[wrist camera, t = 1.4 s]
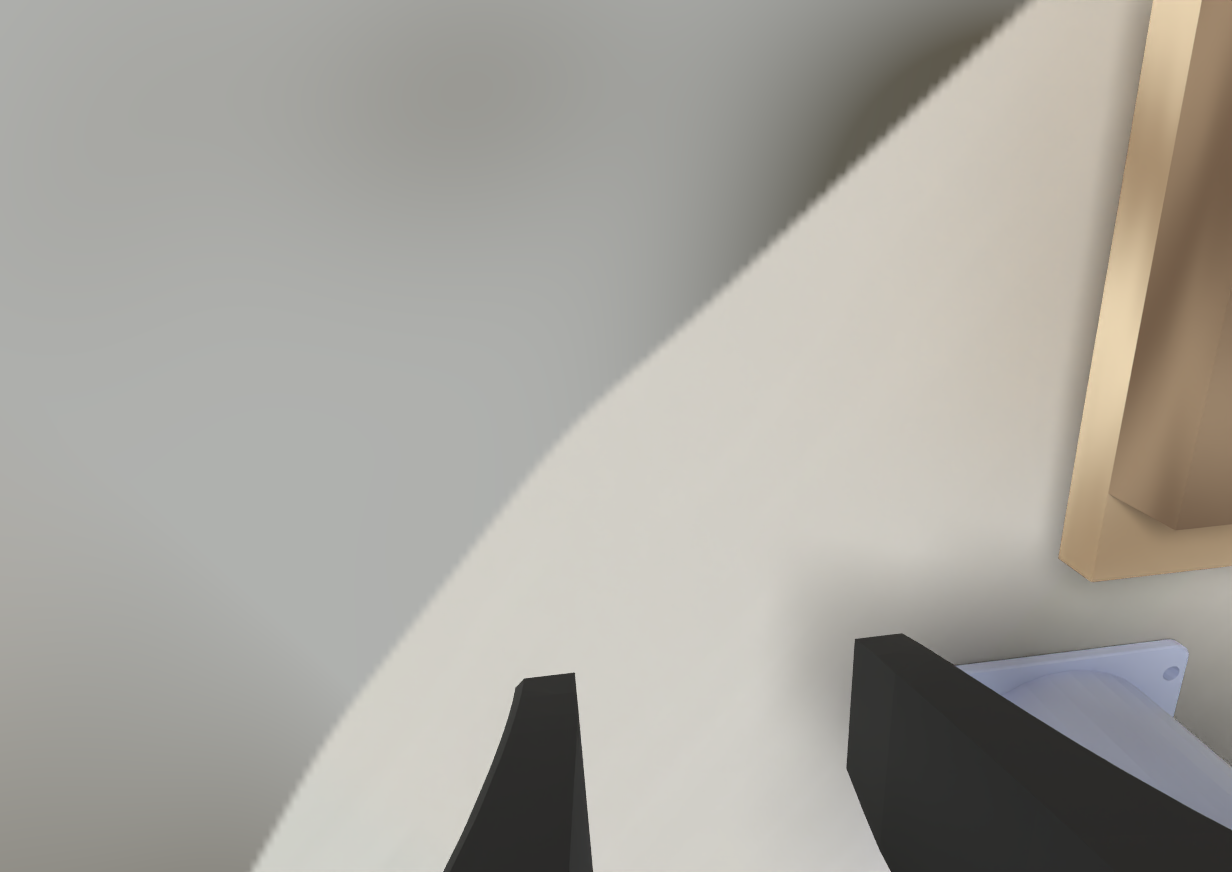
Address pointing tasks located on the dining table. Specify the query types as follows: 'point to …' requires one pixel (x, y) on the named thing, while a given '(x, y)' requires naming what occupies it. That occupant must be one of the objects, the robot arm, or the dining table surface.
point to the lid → (1164, 323)
